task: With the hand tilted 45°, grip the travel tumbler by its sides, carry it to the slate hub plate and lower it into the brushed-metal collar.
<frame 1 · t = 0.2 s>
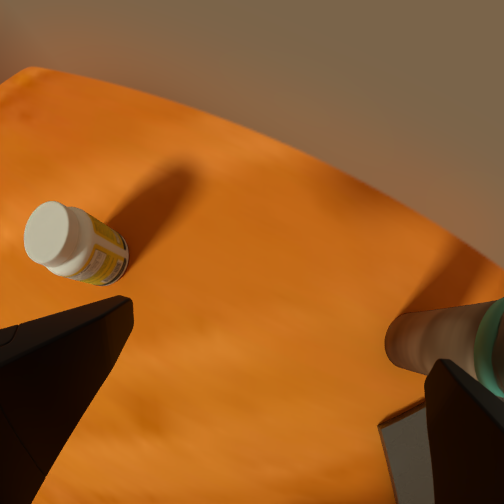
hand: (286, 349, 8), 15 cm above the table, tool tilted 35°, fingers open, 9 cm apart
travel tumbler: (409, 340, 22), on the table
hub: (496, 430, 19), on the table
supplement bottle: (106, 258, 25), on the table
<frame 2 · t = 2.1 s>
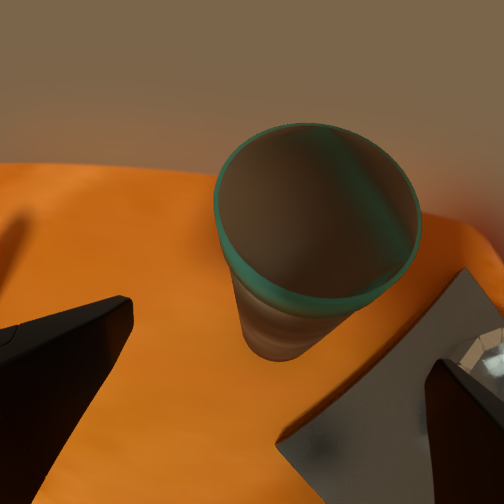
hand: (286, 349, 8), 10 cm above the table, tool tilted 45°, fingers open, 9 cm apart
travel tumbler: (279, 324, 18), on the table
hub: (473, 398, 16), on the table
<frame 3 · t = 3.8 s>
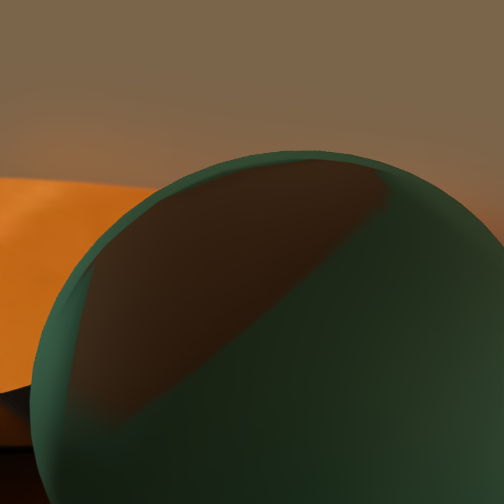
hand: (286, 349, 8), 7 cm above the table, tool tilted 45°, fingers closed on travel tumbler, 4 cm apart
travel tumbler: (266, 393, 14), on the table, touching gripper
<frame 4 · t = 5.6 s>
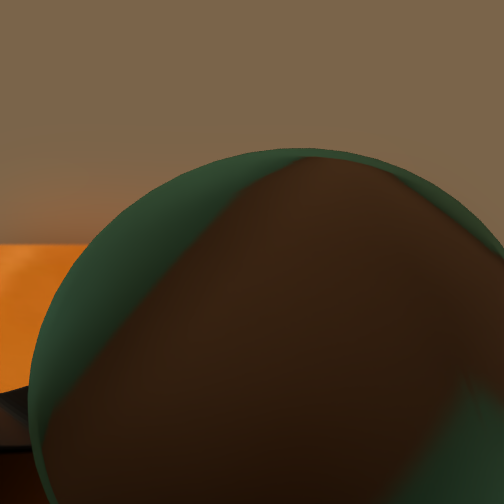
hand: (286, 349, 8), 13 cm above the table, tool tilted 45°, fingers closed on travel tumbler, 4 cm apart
travel tumbler: (266, 392, 14), point 7 cm above the table, touching gripper
when the fingers open (8 cm above the table, at t = 7.8 s): travel tumbler stays where it is, resting on hub.
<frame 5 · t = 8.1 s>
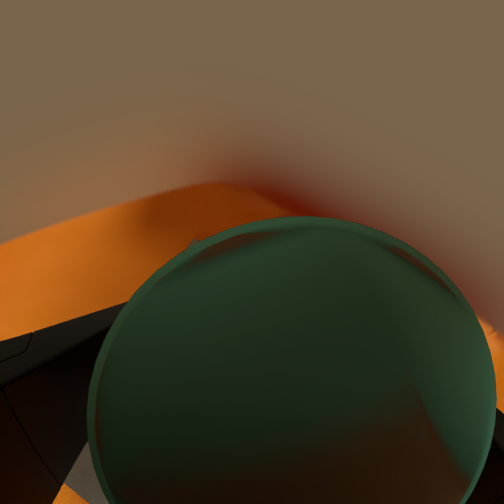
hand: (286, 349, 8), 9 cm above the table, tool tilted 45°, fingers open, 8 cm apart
travel tumbler: (265, 393, 14), point 1 cm above the table, touching hub
hub: (265, 392, 15), on the table
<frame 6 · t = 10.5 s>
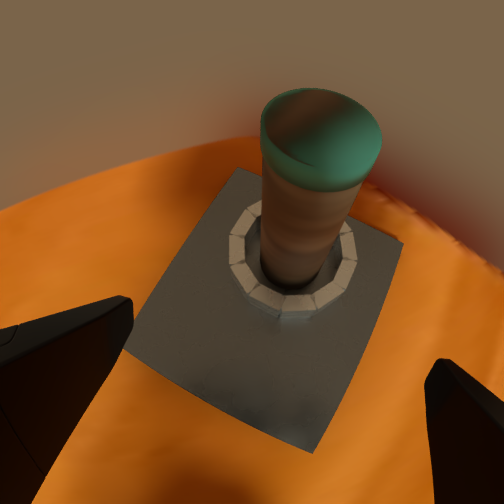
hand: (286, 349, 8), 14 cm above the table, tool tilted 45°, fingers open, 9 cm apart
travel tumbler: (290, 259, 23), point 1 cm above the table, touching hub
hub: (289, 264, 24), on the table
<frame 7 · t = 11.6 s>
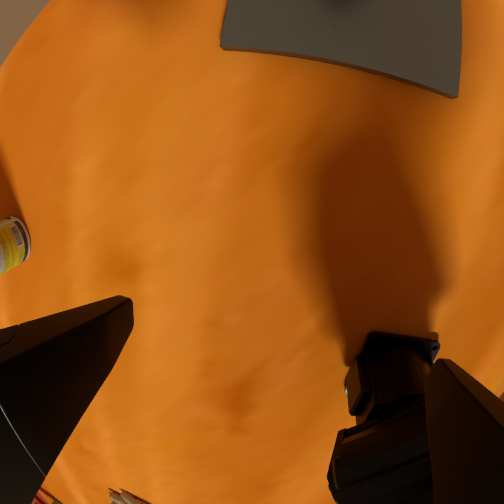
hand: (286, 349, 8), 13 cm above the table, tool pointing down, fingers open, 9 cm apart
supplement bottle: (19, 237, 25), on the table
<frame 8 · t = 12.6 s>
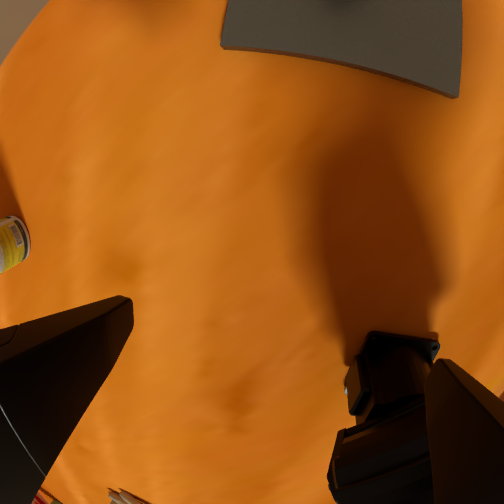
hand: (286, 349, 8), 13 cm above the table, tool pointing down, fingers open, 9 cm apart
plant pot: (61, 503, 64), on the table
supplement bottle: (18, 237, 25), on the table
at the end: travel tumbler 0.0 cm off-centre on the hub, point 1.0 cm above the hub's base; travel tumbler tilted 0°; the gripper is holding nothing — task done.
